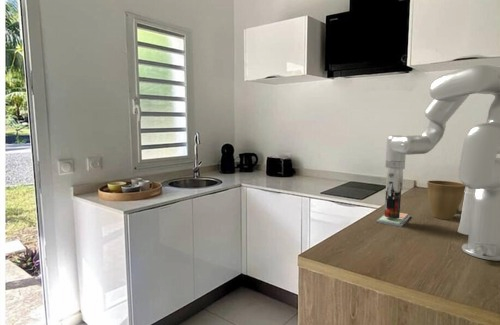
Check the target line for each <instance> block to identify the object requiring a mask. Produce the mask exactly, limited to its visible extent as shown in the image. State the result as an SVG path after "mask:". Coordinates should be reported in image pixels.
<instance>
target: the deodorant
mask: <svg viewBox="0 0 500 325" xmlns="http://www.w3.org/2000/svg"><path fill="white" fill-rule="evenodd" d="M400 185H401V186H402V183H400ZM388 188H389V187H388ZM387 190H388V189H387ZM392 191H393V192H394V190H392ZM392 194H393V193H392ZM387 195H388V192H387V191H386V190H385V201H384V214H385V215H384V214H383V215H384V216H385V217H388V218H399V217H400V213H401V201H402V200H401V197H402V190H401V188H400V192H398V193H397V192H395V208H394V209H392V208H387Z"/></svg>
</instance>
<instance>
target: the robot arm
mask: <svg viewBox="0 0 500 325" xmlns="http://www.w3.org/2000/svg"><path fill="white" fill-rule="evenodd" d="M474 94H481V95H493V96H494V99H493V101H491V104H490V106H489V109H488V112H487V114H488V115H487V118H486V122H484V123H479V124H476V125H474V126H473V127H471V128H470V130H468V131H467V133H466V135H465V138H464V141H463V145H462V151H461V154H460V159H459V166H458V177H459V181H460V183H462V184H463V185H465V186H466V187H465V188H467V187H468V188H470V189H475V190H474V193H473V197H472V205H471V214H470V225H469V235H467V236H468V238H467V239H468V240H467V243H463V244H462V245H461V250H462V251H463V252H464V253H465V254H467V255H469V256H472V257H474V258H478V259H483V260H488V261H495V262H498V261H499V262H500V157H497V155H500V66H495V65H488V64H477V65H475V64H474V65H471V66H468V67H465V68H461V69H459V70H455V71H451V72H448V73H445V74H441V75H440V76H438V77H437V78H435V79H434V80H433V81H432V83H431V85H430V87H429V95H430V97H431V98H432V100H431V102H430V103H429V105H428V106H427V107H426V108H425V109H424V113H423V114H424V116H425V117H426V119H427V120H429V124H428V126H427V127H426V129H425V130H424V132H422V134H421V135H389V136H387V139H386V149H385V150H386V153H385V167H384V168H385V169H387V171H386V182H385V192H386V191H387V192H388V195H387V208H392V209H394V208H395V192H397V193H398V192H400V188H401V191H403V188H404V170H405V168H406V157H407V156H411V155H425V154H427V153H429V152H431V151H432V150H433V149H434V148H435V147H436V146H437V145H438V143H439V142H440V141H441V139H442V138H443V137H444V134H445V130H446V127H447V123H448V121H449V120H450V119H451V118H452V117H453V115H454V114H455V113H456V112H457V110H458V109H459V108H460V107H461V106H462V105H463V103H464V102H465V101H466V100H467V99H468V97H469V96H470V95H474ZM406 155H407V156H406ZM400 183H402V186H401V185H400ZM388 187H389V188H388ZM387 189H388V190H387ZM392 190H394V192H393V191H392ZM392 193H393V194H392Z"/></svg>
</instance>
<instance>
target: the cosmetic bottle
mask: <svg viewBox="0 0 500 325" xmlns="http://www.w3.org/2000/svg"><path fill="white" fill-rule="evenodd" d="M474 190H475V189H470V188H468V187H465V191H464V194H463V200H462V201H463V202H462V209H461V216H460V221H459V226H458V228H457V233H459V234H461V235H466V236H469V225H470V214H471V205H472V197H473V193H474Z"/></svg>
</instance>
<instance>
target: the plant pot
mask: <svg viewBox="0 0 500 325" xmlns="http://www.w3.org/2000/svg"><path fill="white" fill-rule="evenodd" d="M426 183H427V184H426V187H427V194H428V200H429V204H430V208H431V212H432V214H433V215H432V216H433V217H434V218H436V219H441V220H447V221H449V220H450V221H451V220H453V219H454V217H455V216H456V214H457V213H456V211H457V209H458V207H459V208H460V204H461V203H462V201H463V200H462V199H463V198H464V194H465V191H466V188H467V187H466V186H465V185H463V183H462V182H455V181H449V180H428V181H426Z"/></svg>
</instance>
